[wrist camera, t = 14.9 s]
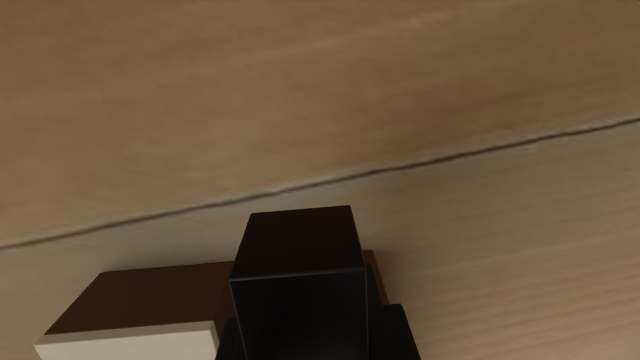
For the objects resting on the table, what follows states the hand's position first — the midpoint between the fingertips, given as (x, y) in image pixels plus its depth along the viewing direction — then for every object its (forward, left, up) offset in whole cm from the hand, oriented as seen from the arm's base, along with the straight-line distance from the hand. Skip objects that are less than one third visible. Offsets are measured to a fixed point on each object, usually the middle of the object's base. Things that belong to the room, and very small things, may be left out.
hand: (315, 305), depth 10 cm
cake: (+9, -9, -8) cm, 15 cm away
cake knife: (+5, 0, -1) cm, 5 cm away
